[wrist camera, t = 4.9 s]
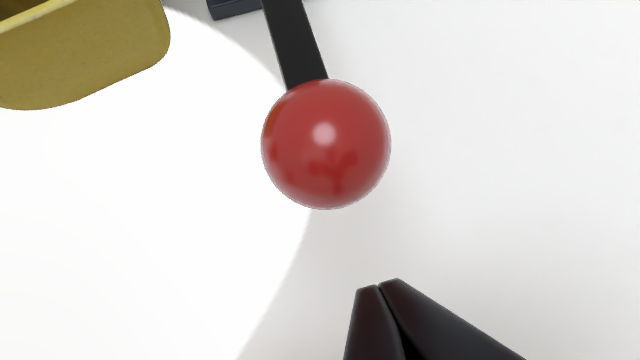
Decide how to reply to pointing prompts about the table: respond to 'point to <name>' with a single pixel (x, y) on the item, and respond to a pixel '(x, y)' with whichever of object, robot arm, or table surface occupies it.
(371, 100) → the lever
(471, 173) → the table surface
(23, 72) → the flower pot
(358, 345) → the robot arm
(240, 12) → the bracket
